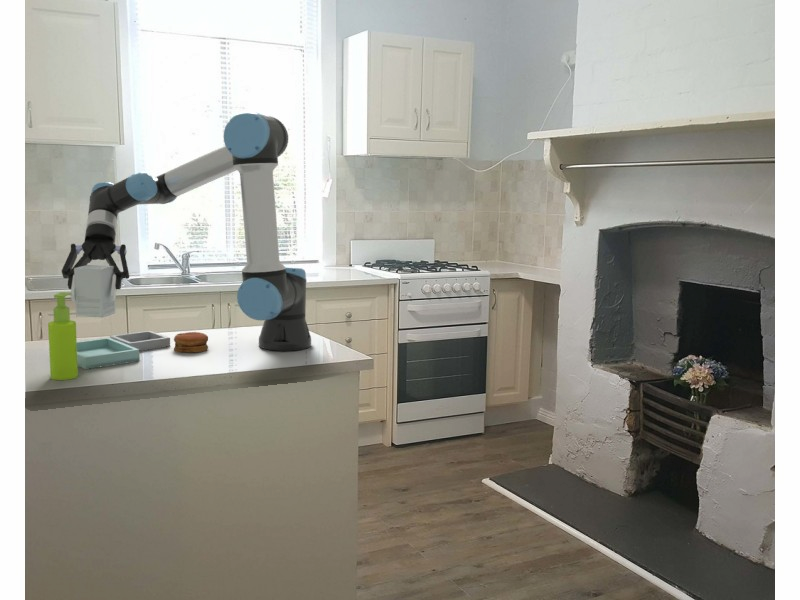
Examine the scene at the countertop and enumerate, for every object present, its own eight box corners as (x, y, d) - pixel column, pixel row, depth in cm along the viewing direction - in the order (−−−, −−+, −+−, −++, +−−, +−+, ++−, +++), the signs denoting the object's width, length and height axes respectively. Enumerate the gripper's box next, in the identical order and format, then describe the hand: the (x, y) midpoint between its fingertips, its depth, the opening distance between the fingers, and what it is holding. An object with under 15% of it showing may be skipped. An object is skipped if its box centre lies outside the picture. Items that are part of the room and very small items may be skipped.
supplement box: (116, 313, 191) (115, 265, 189) (102, 318, 183) (101, 269, 181) (89, 311, 191) (88, 264, 189) (74, 316, 184) (73, 267, 182)
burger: (209, 352, 199) (209, 336, 198) (174, 354, 196) (174, 338, 195) (207, 345, 208) (207, 329, 207) (173, 346, 205) (173, 330, 204)
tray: (139, 360, 188) (139, 349, 187) (85, 369, 178) (85, 357, 177) (109, 348, 200) (109, 337, 200) (57, 355, 190) (56, 344, 190)
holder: (170, 346, 205) (170, 337, 204) (129, 352, 196) (129, 343, 196) (150, 338, 213) (149, 330, 212) (110, 344, 204) (109, 335, 204)
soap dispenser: (83, 372, 175) (80, 291, 172) (71, 380, 168) (68, 295, 165) (59, 372, 175) (55, 290, 172) (46, 379, 168) (42, 295, 165)
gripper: (144, 240, 202) (139, 306, 189) (60, 239, 196) (49, 307, 184) (141, 222, 196) (136, 289, 183) (55, 220, 190) (43, 289, 178)
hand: (93, 298), depth 183 cm, fingers closed on supplement box, 9 cm apart
